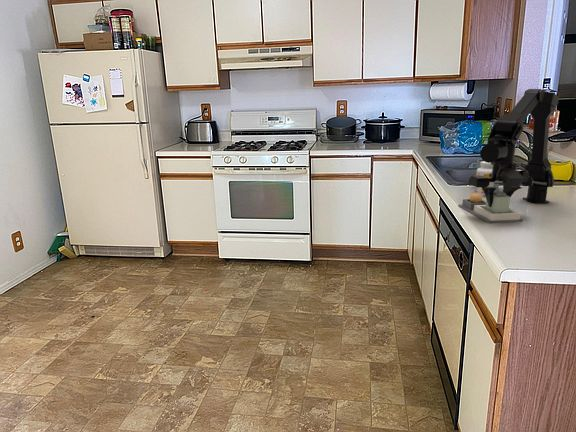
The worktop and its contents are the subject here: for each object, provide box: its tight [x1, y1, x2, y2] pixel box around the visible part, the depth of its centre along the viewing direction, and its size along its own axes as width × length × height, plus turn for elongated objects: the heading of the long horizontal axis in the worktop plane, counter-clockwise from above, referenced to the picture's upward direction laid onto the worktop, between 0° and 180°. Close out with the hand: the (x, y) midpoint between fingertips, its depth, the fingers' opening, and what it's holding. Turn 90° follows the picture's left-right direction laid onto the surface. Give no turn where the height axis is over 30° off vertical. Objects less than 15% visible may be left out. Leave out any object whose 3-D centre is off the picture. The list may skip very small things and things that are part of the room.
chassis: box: [457, 198, 523, 224], centre depth 149 cm, size 20×12×3 cm, turn 6°
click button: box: [469, 192, 484, 203], centre depth 154 cm, size 4×4×3 cm
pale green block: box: [485, 190, 512, 212], centre depth 144 cm, size 6×4×6 cm
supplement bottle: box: [473, 161, 493, 197], centre depth 174 cm, size 7×7×13 cm
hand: (497, 206), depth 145 cm, fingers closed on pale green block, 4 cm apart
